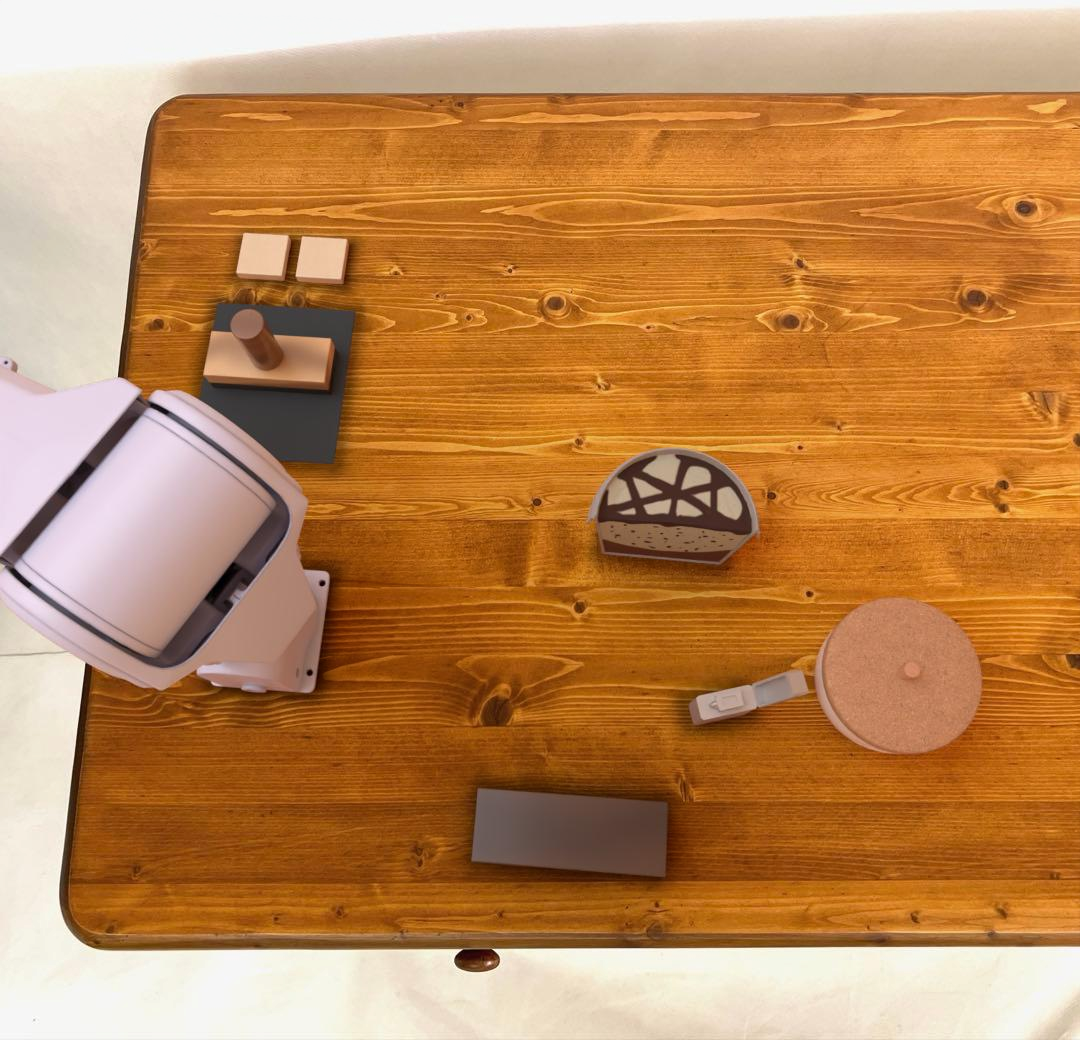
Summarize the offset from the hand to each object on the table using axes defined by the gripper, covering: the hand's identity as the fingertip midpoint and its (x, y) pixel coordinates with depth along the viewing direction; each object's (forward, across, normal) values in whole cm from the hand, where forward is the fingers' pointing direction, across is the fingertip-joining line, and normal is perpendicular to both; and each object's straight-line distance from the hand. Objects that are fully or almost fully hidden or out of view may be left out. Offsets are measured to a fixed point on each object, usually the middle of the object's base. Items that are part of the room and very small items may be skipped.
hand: (55, 465), depth 69 cm
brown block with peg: (+10, -11, -13) cm, 20 cm away
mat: (+10, -11, -12) cm, 19 cm away
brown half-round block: (+11, -44, -2) cm, 45 cm away
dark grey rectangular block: (+10, -38, +22) cm, 45 cm away
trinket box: (+11, -60, +10) cm, 62 cm away
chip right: (+10, -14, -24) cm, 29 cm away
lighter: (+11, -50, +12) cm, 53 cm away
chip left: (+10, -8, -24) cm, 27 cm away
